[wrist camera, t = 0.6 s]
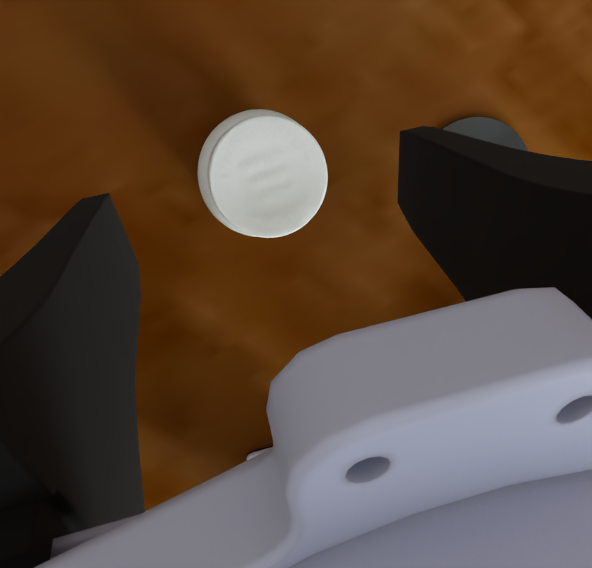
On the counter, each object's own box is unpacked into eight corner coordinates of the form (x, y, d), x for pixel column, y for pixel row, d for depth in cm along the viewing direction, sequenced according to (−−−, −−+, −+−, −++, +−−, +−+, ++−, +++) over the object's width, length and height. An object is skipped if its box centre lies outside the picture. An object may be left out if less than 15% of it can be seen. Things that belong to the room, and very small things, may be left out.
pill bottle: (200, 119, 30) (191, 95, 19) (297, 123, 30) (343, 102, 20) (202, 219, 31) (195, 249, 20) (295, 219, 32) (336, 249, 21)
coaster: (532, 232, 35) (536, 232, 35) (418, 260, 34) (420, 260, 34) (524, 105, 33) (528, 104, 32) (401, 131, 32) (403, 131, 31)
